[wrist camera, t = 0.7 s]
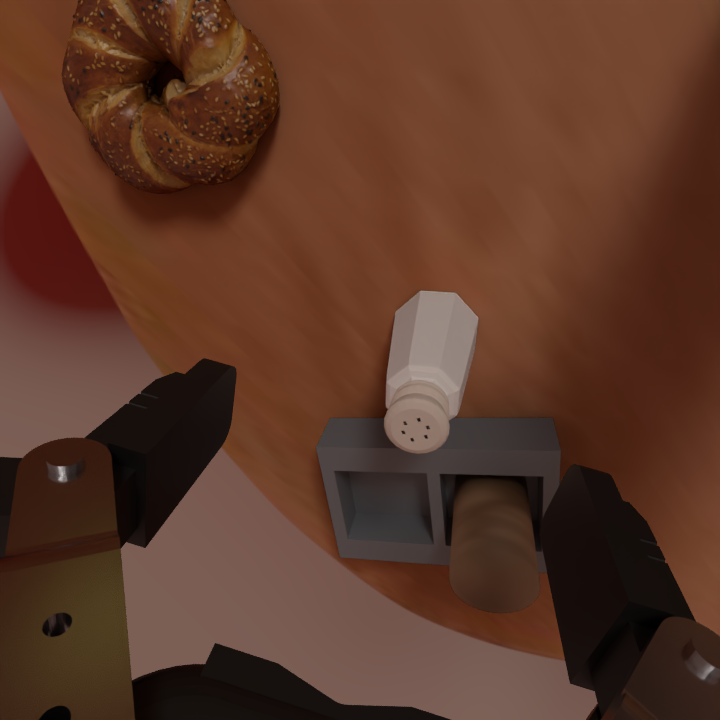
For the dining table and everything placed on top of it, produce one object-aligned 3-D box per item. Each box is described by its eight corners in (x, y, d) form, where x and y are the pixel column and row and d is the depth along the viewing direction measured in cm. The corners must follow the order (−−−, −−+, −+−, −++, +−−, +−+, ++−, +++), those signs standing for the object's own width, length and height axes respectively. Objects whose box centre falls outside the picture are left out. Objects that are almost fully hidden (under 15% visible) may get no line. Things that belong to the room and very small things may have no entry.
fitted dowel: (527, 457, 32) (541, 554, 25) (526, 513, 34) (539, 617, 27) (453, 456, 33) (446, 548, 26) (457, 510, 35) (451, 608, 28)
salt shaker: (409, 376, 32) (379, 489, 22) (379, 303, 30) (333, 391, 20) (491, 355, 30) (497, 469, 20) (464, 275, 28) (458, 358, 18)
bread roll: (283, -30, 24) (253, -54, 20) (288, 199, 29) (265, 210, 25) (68, -31, 26) (10, -53, 22) (108, 184, 31) (65, 192, 27)
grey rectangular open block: (552, 417, 31) (560, 450, 28) (548, 533, 35) (555, 573, 32) (330, 418, 35) (316, 447, 32) (350, 522, 39) (339, 557, 36)
